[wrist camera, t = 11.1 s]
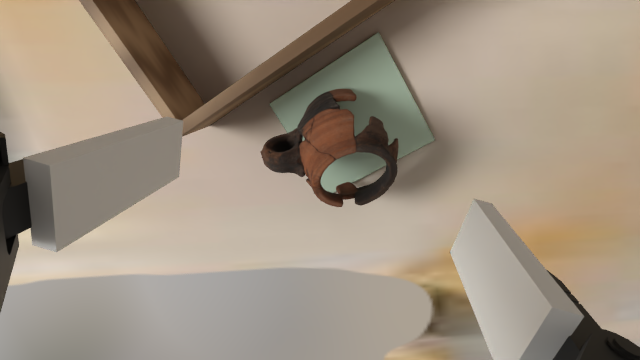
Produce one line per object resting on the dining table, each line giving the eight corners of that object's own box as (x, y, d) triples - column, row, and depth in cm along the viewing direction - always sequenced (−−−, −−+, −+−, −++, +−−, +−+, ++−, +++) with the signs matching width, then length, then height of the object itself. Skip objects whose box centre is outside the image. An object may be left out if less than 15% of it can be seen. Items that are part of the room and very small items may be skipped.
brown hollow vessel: (382, 72, 30) (411, 124, 24) (381, 151, 37) (404, 207, 31) (251, 95, 30) (249, 153, 24) (274, 170, 37) (276, 230, 31)
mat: (270, 103, 33) (269, 104, 33) (378, 32, 29) (378, 32, 29) (327, 194, 35) (327, 195, 35) (434, 139, 32) (435, 140, 31)
